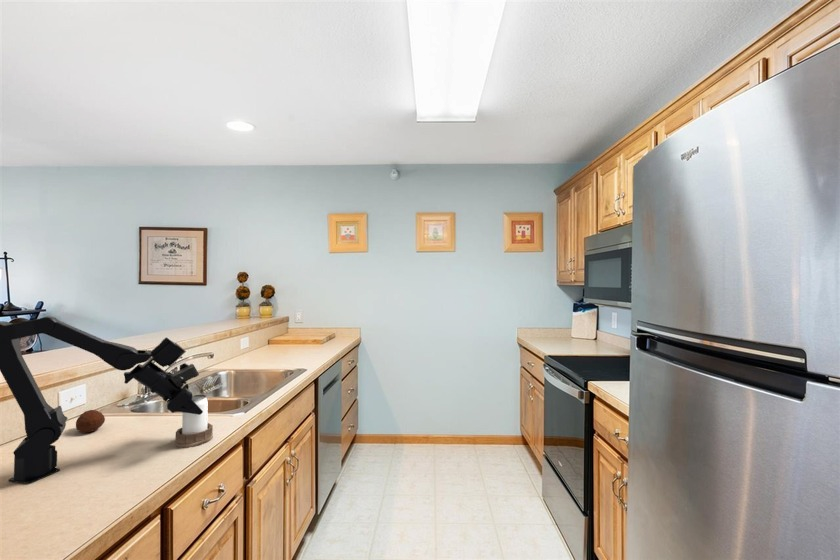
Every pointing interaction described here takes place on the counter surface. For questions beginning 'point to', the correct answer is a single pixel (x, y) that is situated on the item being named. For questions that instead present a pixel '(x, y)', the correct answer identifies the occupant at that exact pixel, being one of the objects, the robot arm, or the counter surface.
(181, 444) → the holder
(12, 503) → the counter surface
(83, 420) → the potato
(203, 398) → the can
